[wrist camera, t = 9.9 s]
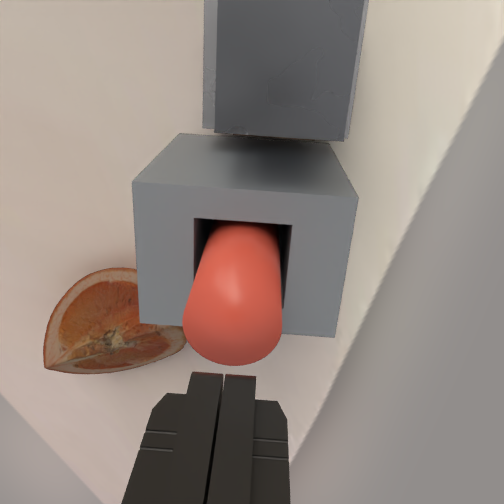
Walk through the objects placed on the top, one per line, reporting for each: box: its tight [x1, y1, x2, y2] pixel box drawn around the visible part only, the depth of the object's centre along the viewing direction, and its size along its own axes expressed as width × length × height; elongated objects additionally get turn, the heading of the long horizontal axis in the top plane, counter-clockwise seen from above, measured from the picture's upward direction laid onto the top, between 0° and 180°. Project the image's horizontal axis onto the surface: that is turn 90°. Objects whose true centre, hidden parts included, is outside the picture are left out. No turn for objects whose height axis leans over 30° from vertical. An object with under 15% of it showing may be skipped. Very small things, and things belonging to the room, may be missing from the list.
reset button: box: [182, 219, 282, 366], centre depth 17 cm, size 3×3×7 cm
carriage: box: [203, 0, 369, 142], centre depth 17 cm, size 6×6×10 cm
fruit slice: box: [43, 268, 186, 374], centre depth 26 cm, size 8×7×5 cm
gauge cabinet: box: [132, 133, 359, 338], centre depth 21 cm, size 8×6×9 cm
